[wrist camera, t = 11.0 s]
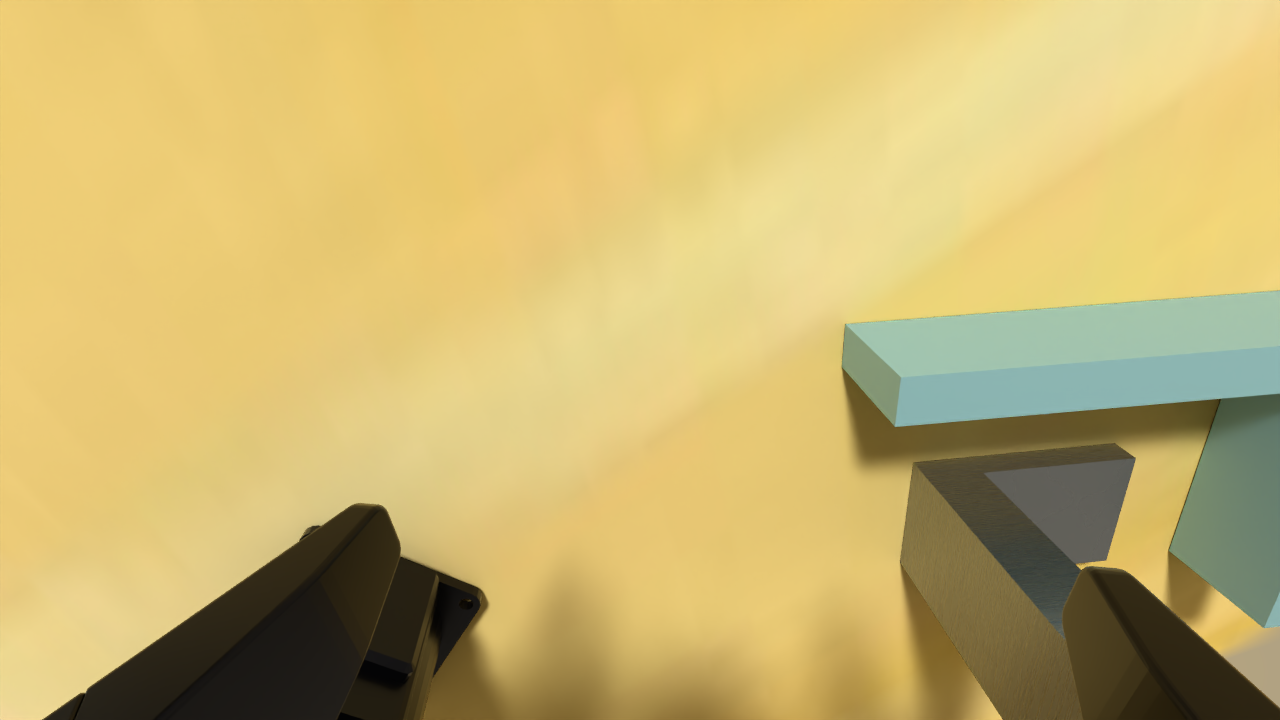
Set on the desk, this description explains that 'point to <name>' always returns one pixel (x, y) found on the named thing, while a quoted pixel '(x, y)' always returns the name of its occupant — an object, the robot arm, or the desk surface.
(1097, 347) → the teal corner wall
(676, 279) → the desk surface
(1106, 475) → the grey l-shaped block
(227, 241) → the desk surface
